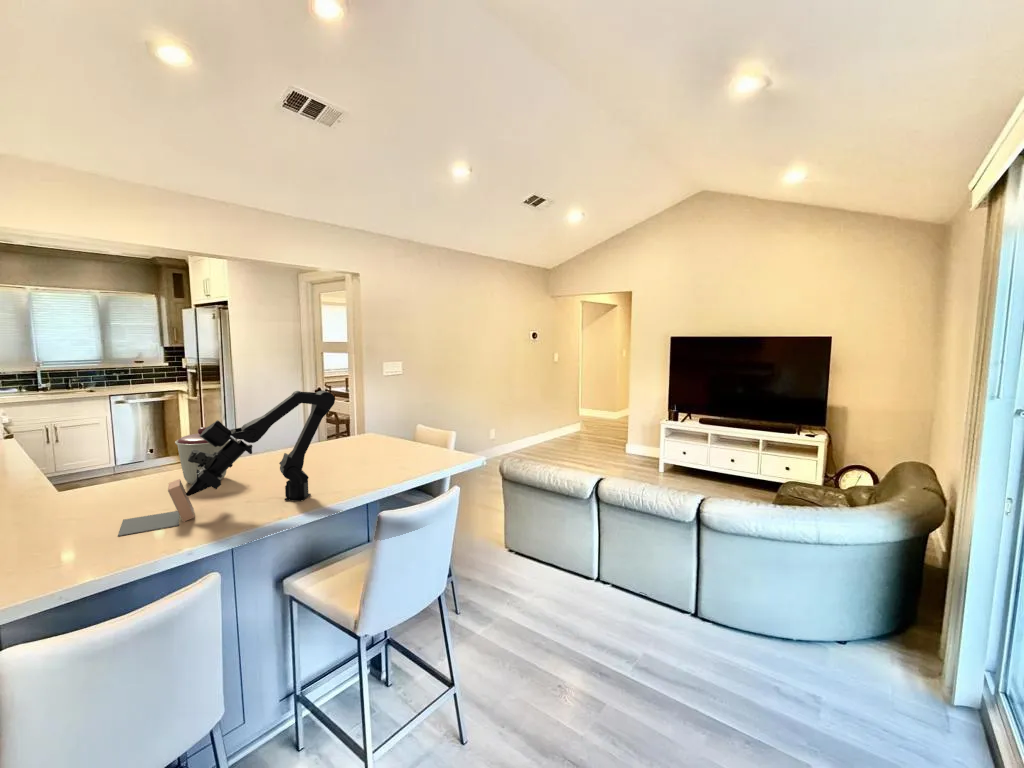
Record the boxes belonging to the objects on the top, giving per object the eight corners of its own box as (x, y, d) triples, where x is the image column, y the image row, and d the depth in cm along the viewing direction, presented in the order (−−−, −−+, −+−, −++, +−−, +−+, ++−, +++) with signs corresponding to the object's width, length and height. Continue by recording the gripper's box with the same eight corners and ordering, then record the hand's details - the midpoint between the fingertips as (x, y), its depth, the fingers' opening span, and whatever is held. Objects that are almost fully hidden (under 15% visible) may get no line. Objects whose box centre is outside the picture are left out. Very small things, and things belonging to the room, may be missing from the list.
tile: (194, 509, 151) (179, 478, 148) (194, 517, 144) (179, 485, 141) (182, 514, 149) (168, 483, 146) (182, 522, 143) (167, 490, 140)
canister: (214, 471, 195) (212, 421, 193) (243, 477, 188) (240, 425, 186) (167, 483, 179) (163, 429, 177) (196, 490, 171) (192, 433, 169)
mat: (179, 511, 151) (179, 510, 151) (179, 525, 140) (178, 524, 140) (123, 520, 143) (123, 519, 143) (117, 536, 132) (117, 535, 132)
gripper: (204, 435, 155) (164, 472, 150) (206, 446, 140) (162, 488, 135) (232, 455, 160) (195, 492, 155) (237, 468, 145) (196, 509, 140)
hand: (187, 495), depth 146 cm, fingers closed
